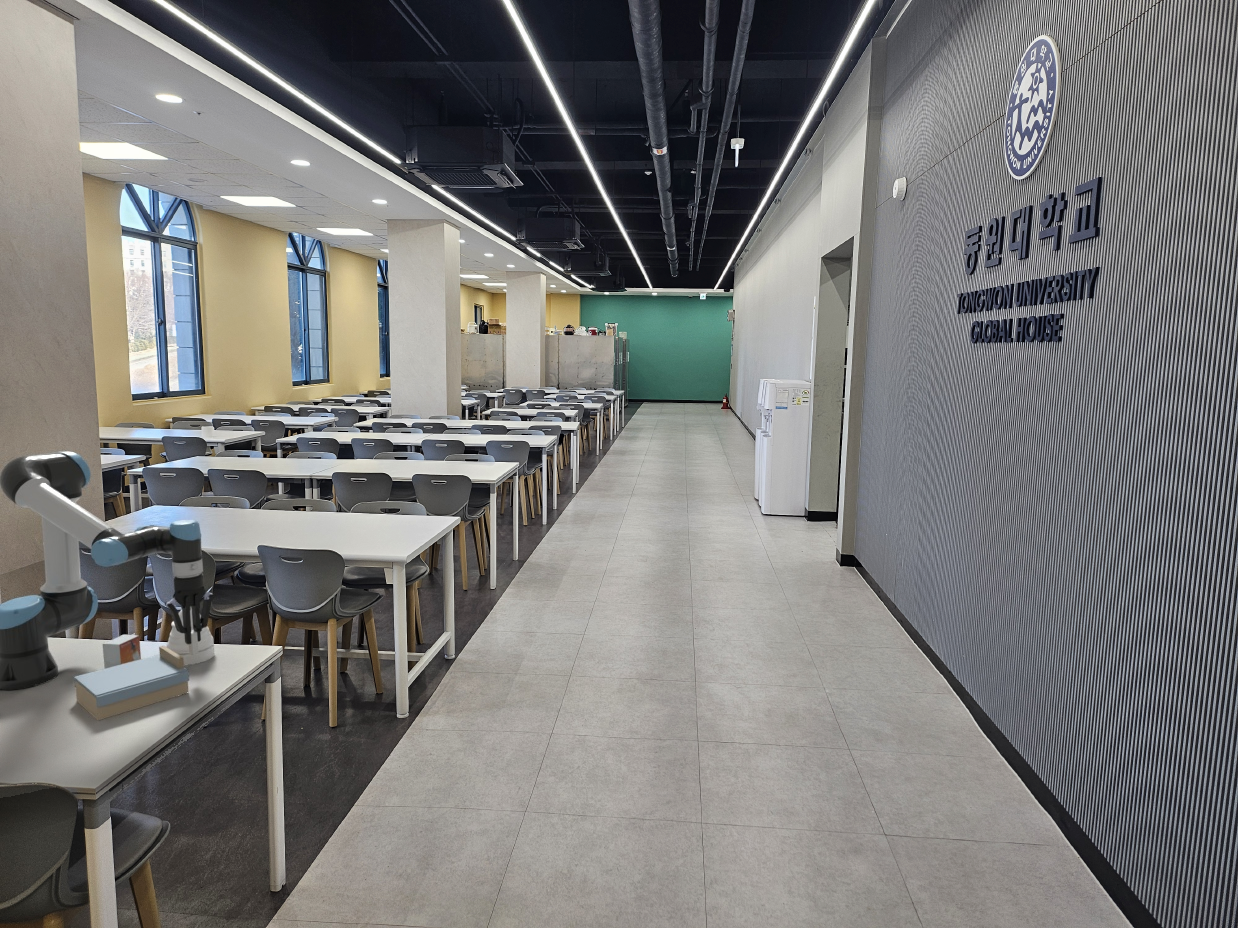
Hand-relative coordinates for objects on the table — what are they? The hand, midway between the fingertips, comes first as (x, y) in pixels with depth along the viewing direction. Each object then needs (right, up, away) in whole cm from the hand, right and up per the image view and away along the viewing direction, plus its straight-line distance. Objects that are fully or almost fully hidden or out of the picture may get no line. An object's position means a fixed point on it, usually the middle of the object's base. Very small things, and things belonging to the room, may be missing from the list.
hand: (193, 653), depth 225 cm
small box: (-23, -7, +5) cm, 25 cm away
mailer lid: (-10, -5, -12) cm, 17 cm away
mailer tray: (-10, -9, -11) cm, 18 cm away
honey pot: (-10, -6, +17) cm, 20 cm away
